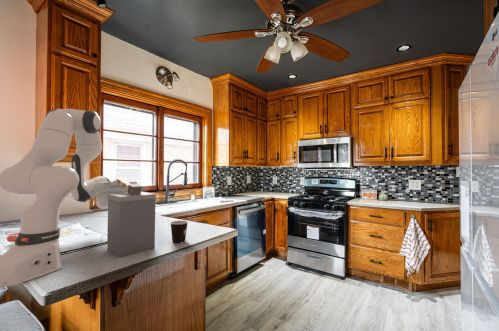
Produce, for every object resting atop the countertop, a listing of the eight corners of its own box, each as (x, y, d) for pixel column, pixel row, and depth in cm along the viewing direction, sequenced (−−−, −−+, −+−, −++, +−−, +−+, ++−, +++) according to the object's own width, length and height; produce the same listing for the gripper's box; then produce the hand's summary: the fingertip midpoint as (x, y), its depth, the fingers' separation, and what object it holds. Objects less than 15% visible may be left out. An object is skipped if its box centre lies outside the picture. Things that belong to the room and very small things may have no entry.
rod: (114, 182, 124) (114, 175, 123) (123, 182, 127) (123, 175, 126) (131, 195, 110) (132, 186, 110) (140, 194, 113) (141, 186, 113)
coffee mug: (179, 237, 133) (180, 219, 133) (190, 240, 128) (191, 222, 128) (161, 243, 123) (162, 223, 123) (172, 246, 118) (172, 226, 118)
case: (106, 249, 113) (107, 194, 113) (141, 241, 125) (142, 191, 125) (118, 257, 103) (119, 197, 103) (155, 248, 116) (156, 194, 116)
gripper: (89, 188, 124) (97, 175, 116) (130, 185, 139) (140, 174, 131) (91, 199, 122) (99, 187, 114) (132, 195, 137) (142, 185, 129)
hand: (121, 180), depth 123 cm, fingers closed on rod, 3 cm apart
